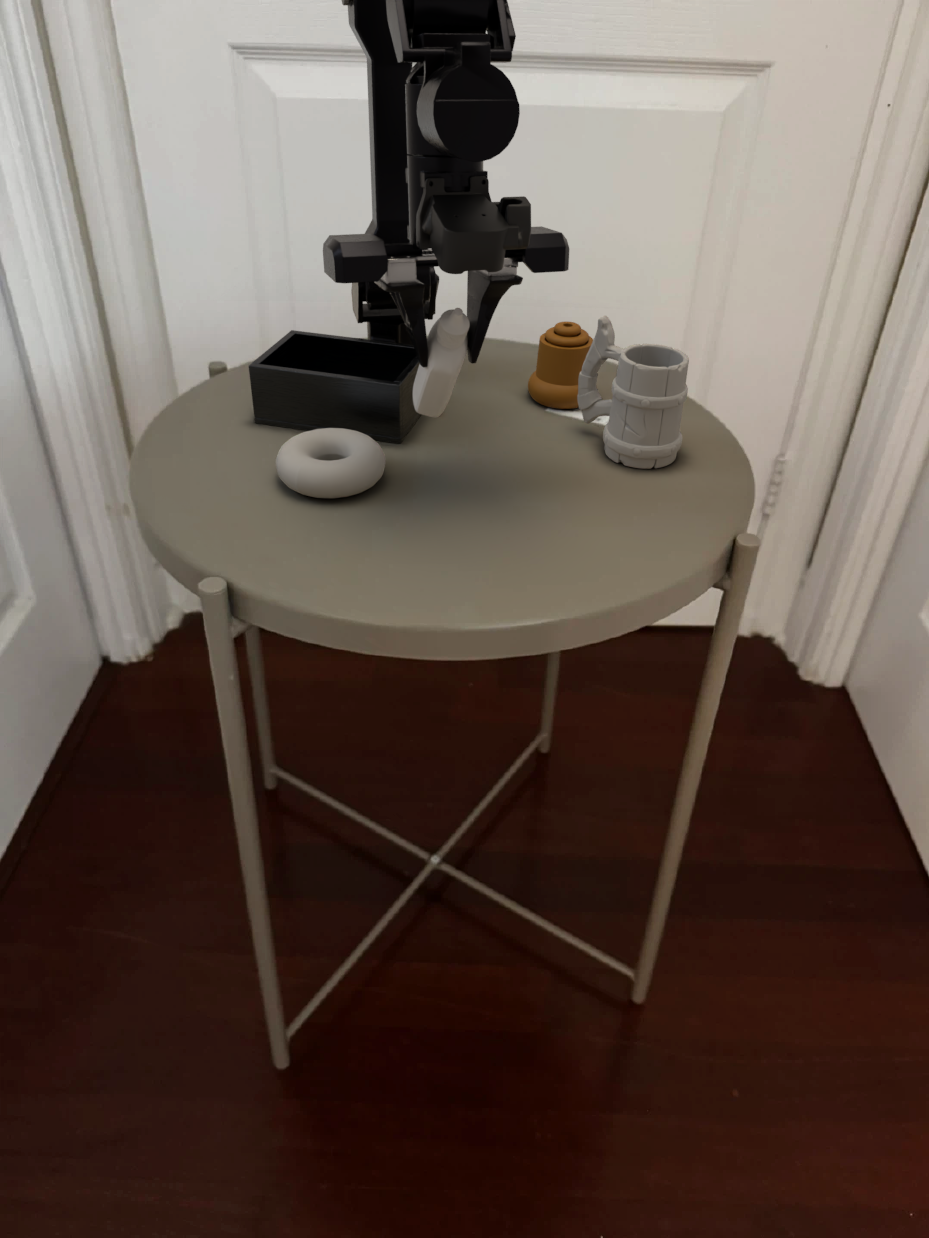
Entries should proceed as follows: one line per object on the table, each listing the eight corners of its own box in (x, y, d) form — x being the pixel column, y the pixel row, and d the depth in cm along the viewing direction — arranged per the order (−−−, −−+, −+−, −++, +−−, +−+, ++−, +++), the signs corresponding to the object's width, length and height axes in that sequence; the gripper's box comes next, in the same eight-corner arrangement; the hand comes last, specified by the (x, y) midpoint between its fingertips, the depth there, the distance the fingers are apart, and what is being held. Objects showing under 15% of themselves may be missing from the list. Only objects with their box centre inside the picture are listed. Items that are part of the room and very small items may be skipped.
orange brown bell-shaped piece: (609, 401, 102) (557, 417, 99) (564, 379, 107) (513, 393, 103) (618, 329, 97) (564, 342, 94) (571, 309, 102) (517, 321, 99)
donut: (398, 462, 90) (298, 448, 91) (398, 428, 88) (296, 415, 89) (368, 513, 82) (260, 497, 83) (367, 478, 80) (256, 462, 81)
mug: (652, 478, 88) (672, 355, 81) (552, 440, 94) (562, 321, 87) (694, 452, 93) (716, 333, 86) (596, 417, 99) (609, 303, 92)
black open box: (296, 384, 104) (291, 330, 100) (431, 402, 101) (431, 347, 97) (254, 423, 96) (248, 365, 92) (400, 444, 93) (399, 385, 89)
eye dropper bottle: (393, 395, 83) (414, 315, 72) (432, 357, 85) (459, 273, 74) (430, 426, 83) (457, 351, 72) (469, 387, 85) (501, 308, 74)
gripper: (341, 163, 61) (355, 400, 69) (604, 158, 66) (590, 379, 73) (314, 155, 70) (329, 364, 78) (546, 150, 75) (539, 348, 83)
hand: (447, 364), depth 78 cm, fingers closed on eye dropper bottle, 4 cm apart
